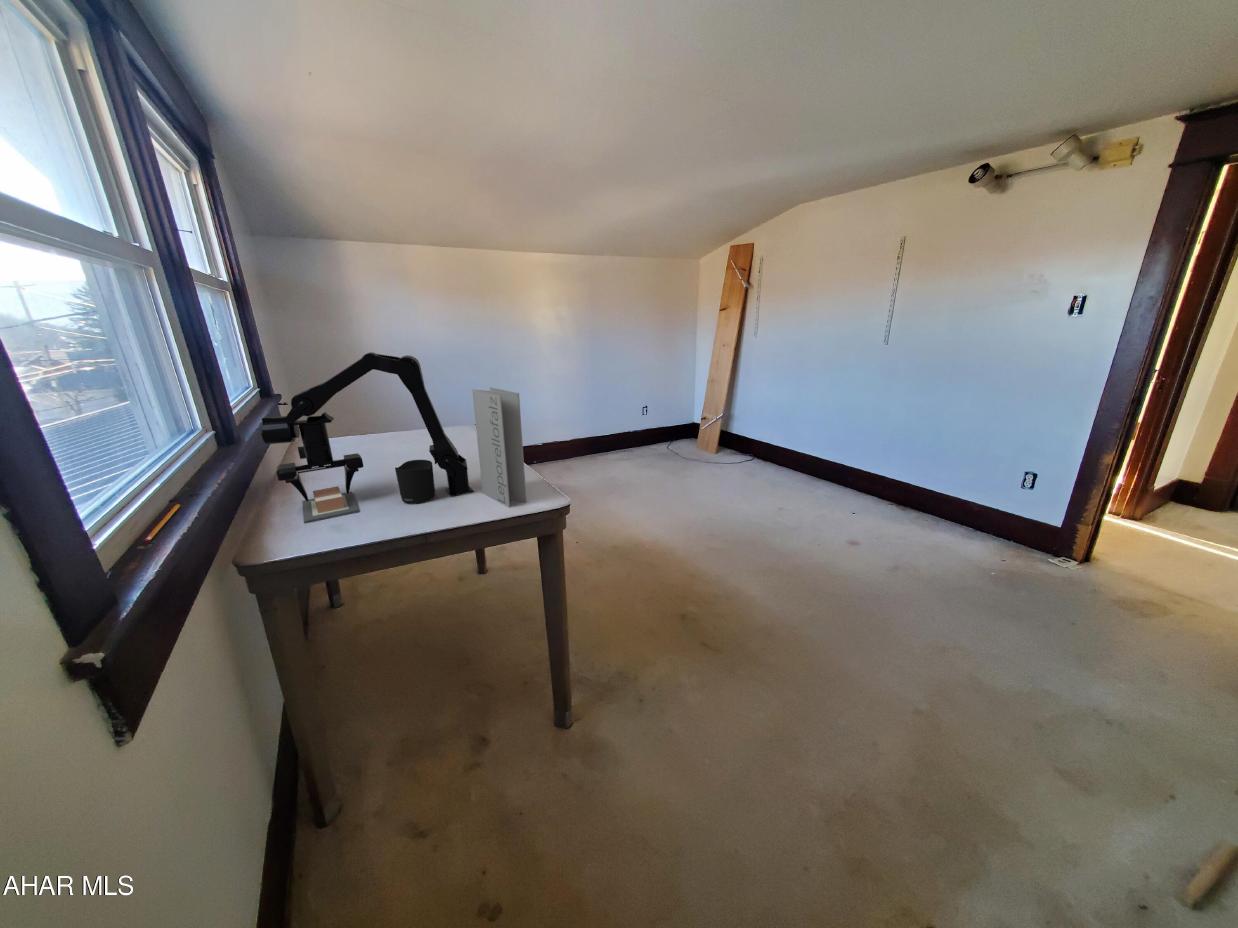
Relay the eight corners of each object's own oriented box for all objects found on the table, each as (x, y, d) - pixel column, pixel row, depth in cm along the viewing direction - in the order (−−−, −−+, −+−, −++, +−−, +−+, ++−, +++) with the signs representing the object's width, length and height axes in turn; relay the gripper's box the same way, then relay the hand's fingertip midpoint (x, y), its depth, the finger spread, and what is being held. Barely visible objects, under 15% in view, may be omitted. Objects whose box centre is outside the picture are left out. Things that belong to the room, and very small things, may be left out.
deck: (315, 501, 125) (312, 490, 124) (340, 496, 128) (338, 485, 127) (318, 513, 118) (315, 501, 116) (344, 507, 121) (342, 496, 120)
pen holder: (396, 497, 129) (390, 464, 126) (430, 489, 135) (425, 457, 132) (406, 508, 123) (400, 472, 119) (441, 499, 128) (437, 465, 125)
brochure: (482, 493, 132) (472, 389, 123) (499, 488, 136) (490, 387, 127) (509, 507, 123) (499, 396, 113) (526, 501, 126) (519, 393, 117)
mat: (358, 512, 120) (358, 509, 120) (304, 523, 114) (303, 520, 113) (352, 493, 133) (351, 491, 132) (302, 502, 126) (302, 500, 126)
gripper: (353, 429, 129) (363, 481, 133) (271, 439, 119) (285, 495, 123) (358, 437, 120) (368, 493, 125) (270, 449, 110) (285, 508, 115)
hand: (327, 496), depth 122 cm, fingers open, 9 cm apart
